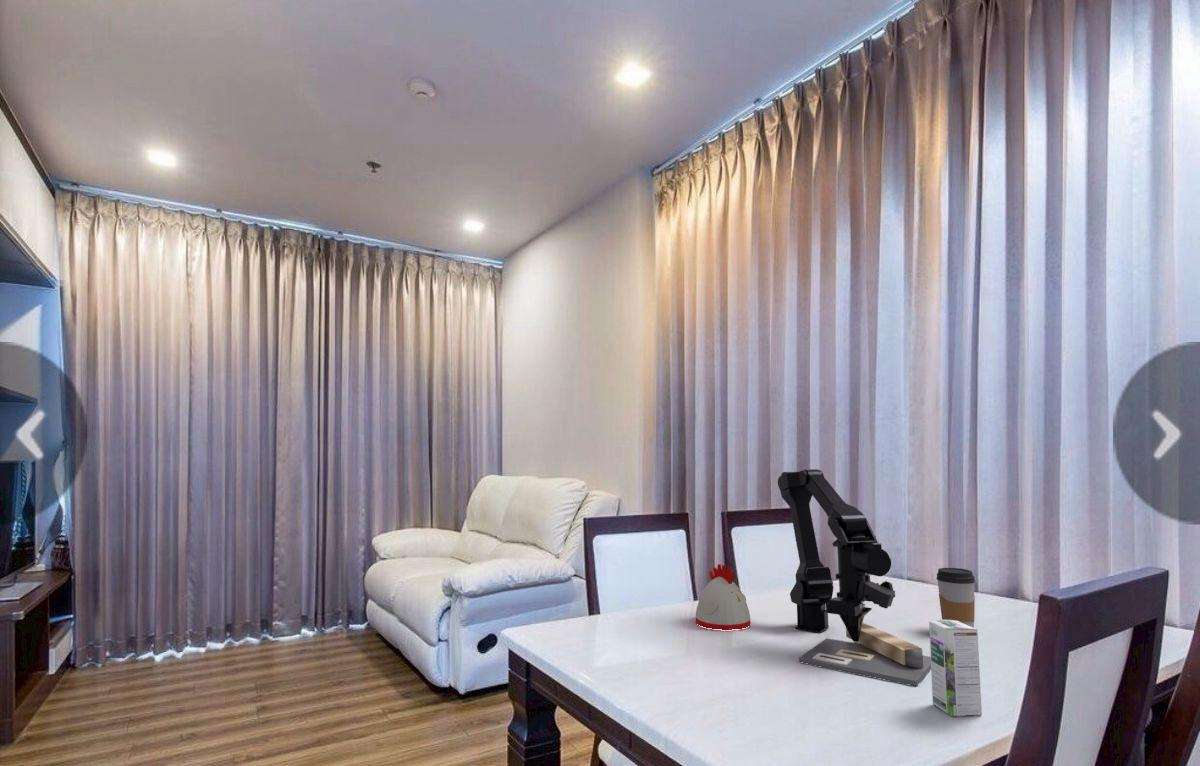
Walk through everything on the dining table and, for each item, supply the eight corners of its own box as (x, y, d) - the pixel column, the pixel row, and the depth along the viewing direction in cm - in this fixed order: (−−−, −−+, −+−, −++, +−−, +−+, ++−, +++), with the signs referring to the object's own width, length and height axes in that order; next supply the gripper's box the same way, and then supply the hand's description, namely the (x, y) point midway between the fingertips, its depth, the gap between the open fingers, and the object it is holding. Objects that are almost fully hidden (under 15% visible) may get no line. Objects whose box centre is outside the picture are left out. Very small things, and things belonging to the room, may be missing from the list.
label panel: (799, 662, 137) (798, 656, 138) (826, 642, 151) (826, 637, 151) (917, 686, 123) (916, 679, 123) (936, 662, 137) (935, 656, 137)
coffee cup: (984, 640, 152) (980, 574, 153) (945, 638, 153) (941, 573, 155) (971, 630, 160) (967, 567, 161) (934, 628, 161) (931, 566, 163)
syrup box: (931, 704, 115) (926, 619, 116) (962, 702, 116) (957, 618, 117) (951, 717, 109) (945, 628, 111) (984, 716, 110) (978, 627, 111)
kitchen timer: (726, 634, 158) (724, 571, 159) (684, 623, 169) (683, 564, 170) (761, 624, 167) (759, 564, 168) (720, 614, 177) (718, 558, 179)
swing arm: (846, 637, 151) (845, 623, 151) (863, 635, 151) (862, 622, 152) (909, 668, 129) (908, 652, 130) (929, 666, 130) (928, 650, 131)
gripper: (876, 578, 134) (881, 657, 132) (901, 567, 148) (905, 638, 146) (823, 573, 141) (826, 648, 139) (851, 563, 155) (855, 631, 153)
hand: (855, 641), depth 144 cm, fingers closed
